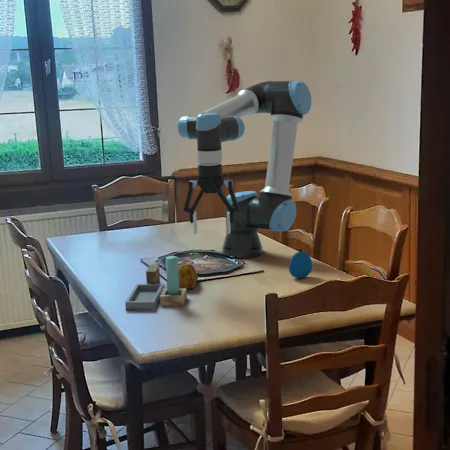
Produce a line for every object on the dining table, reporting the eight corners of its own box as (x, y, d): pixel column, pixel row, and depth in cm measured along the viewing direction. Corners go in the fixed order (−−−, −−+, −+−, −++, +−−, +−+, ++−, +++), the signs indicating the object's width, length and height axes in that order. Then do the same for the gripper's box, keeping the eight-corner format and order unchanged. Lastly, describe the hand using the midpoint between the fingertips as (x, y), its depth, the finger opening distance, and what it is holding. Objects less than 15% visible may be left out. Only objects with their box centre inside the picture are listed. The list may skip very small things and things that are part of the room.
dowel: (180, 299, 214) (178, 256, 210) (178, 303, 210) (176, 259, 207) (169, 299, 214) (166, 256, 211) (167, 303, 210) (164, 259, 207)
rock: (171, 298, 227) (169, 271, 232) (195, 299, 229) (193, 272, 235) (178, 283, 218) (177, 255, 223) (204, 284, 220) (202, 256, 225)
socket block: (186, 297, 215) (186, 288, 214) (183, 305, 208) (183, 296, 208) (164, 297, 216) (163, 288, 215) (160, 305, 209) (160, 296, 208)
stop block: (160, 282, 231) (159, 265, 229) (156, 289, 224) (155, 271, 222) (151, 282, 231) (150, 265, 229) (147, 289, 224) (146, 271, 223)
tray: (163, 291, 221) (163, 284, 221) (154, 310, 205) (153, 302, 205) (137, 291, 222) (136, 284, 222) (125, 310, 206) (125, 302, 205)
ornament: (308, 274, 234) (308, 245, 232) (314, 277, 230) (314, 248, 228) (286, 277, 232) (285, 248, 229) (292, 281, 227) (292, 252, 225)
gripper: (246, 161, 219) (248, 229, 224) (175, 162, 221) (178, 230, 226) (245, 164, 211) (247, 235, 217) (172, 166, 213) (175, 236, 219)
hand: (212, 232), depth 221 cm, fingers open, 10 cm apart
